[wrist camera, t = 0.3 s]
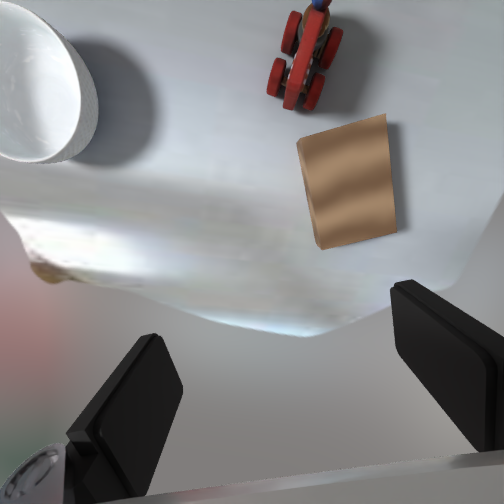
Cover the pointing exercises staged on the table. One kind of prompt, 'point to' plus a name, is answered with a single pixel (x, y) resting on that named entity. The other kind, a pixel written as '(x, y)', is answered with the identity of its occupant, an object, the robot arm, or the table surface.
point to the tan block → (349, 182)
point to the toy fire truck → (305, 54)
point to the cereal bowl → (42, 91)
